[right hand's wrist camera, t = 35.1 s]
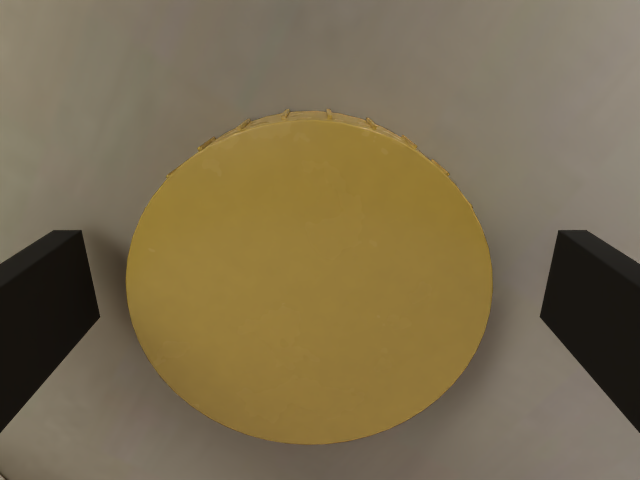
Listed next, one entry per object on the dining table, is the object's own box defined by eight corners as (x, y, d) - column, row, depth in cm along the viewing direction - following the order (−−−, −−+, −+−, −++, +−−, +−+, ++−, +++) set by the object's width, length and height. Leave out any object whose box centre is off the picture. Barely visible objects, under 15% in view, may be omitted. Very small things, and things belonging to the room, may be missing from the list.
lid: (99, 155, 12) (57, 172, 10) (447, 68, 11) (475, 69, 9) (211, 419, 16) (195, 471, 14) (484, 367, 15) (509, 413, 13)
